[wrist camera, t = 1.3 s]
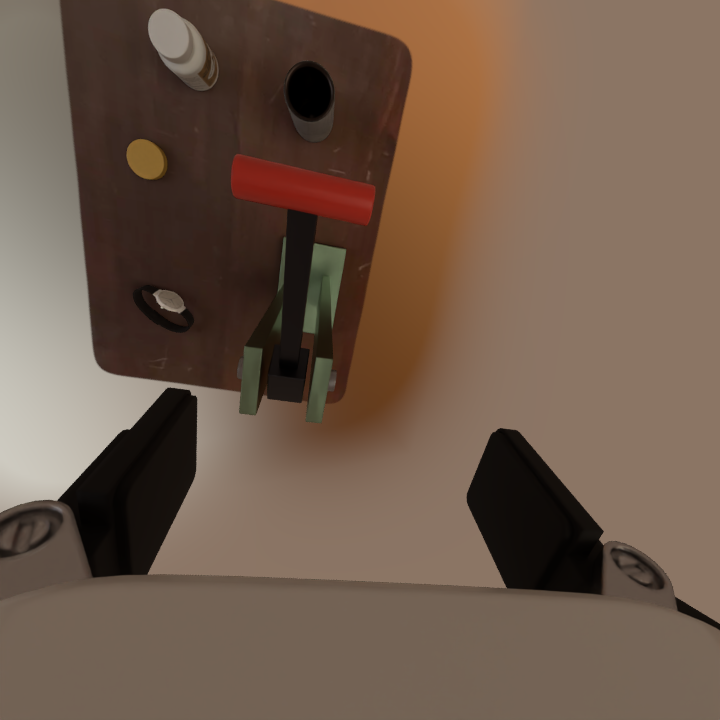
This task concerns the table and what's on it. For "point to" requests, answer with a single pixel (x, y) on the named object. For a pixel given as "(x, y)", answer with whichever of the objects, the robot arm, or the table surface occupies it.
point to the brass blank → (147, 159)
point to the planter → (310, 100)
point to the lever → (297, 247)
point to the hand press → (316, 321)
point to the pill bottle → (183, 49)
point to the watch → (166, 301)
